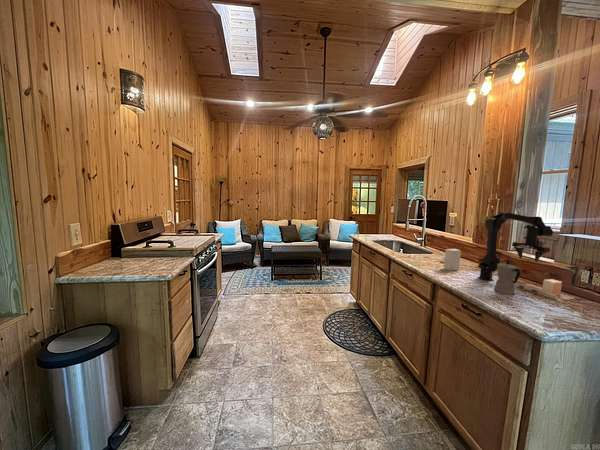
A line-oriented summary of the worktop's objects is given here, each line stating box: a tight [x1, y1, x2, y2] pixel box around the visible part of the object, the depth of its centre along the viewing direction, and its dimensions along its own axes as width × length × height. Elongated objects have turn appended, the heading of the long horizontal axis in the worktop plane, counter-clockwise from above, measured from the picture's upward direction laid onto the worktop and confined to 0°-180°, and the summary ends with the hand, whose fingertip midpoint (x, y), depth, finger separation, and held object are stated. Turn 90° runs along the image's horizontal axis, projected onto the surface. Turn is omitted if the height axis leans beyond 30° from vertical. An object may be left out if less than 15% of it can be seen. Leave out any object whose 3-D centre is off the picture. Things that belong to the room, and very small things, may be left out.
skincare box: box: [443, 248, 462, 271], centre depth 192 cm, size 8×6×15 cm
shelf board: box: [514, 282, 574, 301], centre depth 149 cm, size 14×22×3 cm, turn 14°
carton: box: [541, 278, 563, 295], centre depth 147 cm, size 4×6×7 cm
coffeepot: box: [493, 260, 521, 296], centre depth 147 cm, size 15×9×18 cm, turn 179°
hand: (528, 260), depth 170 cm, fingers open, 9 cm apart
